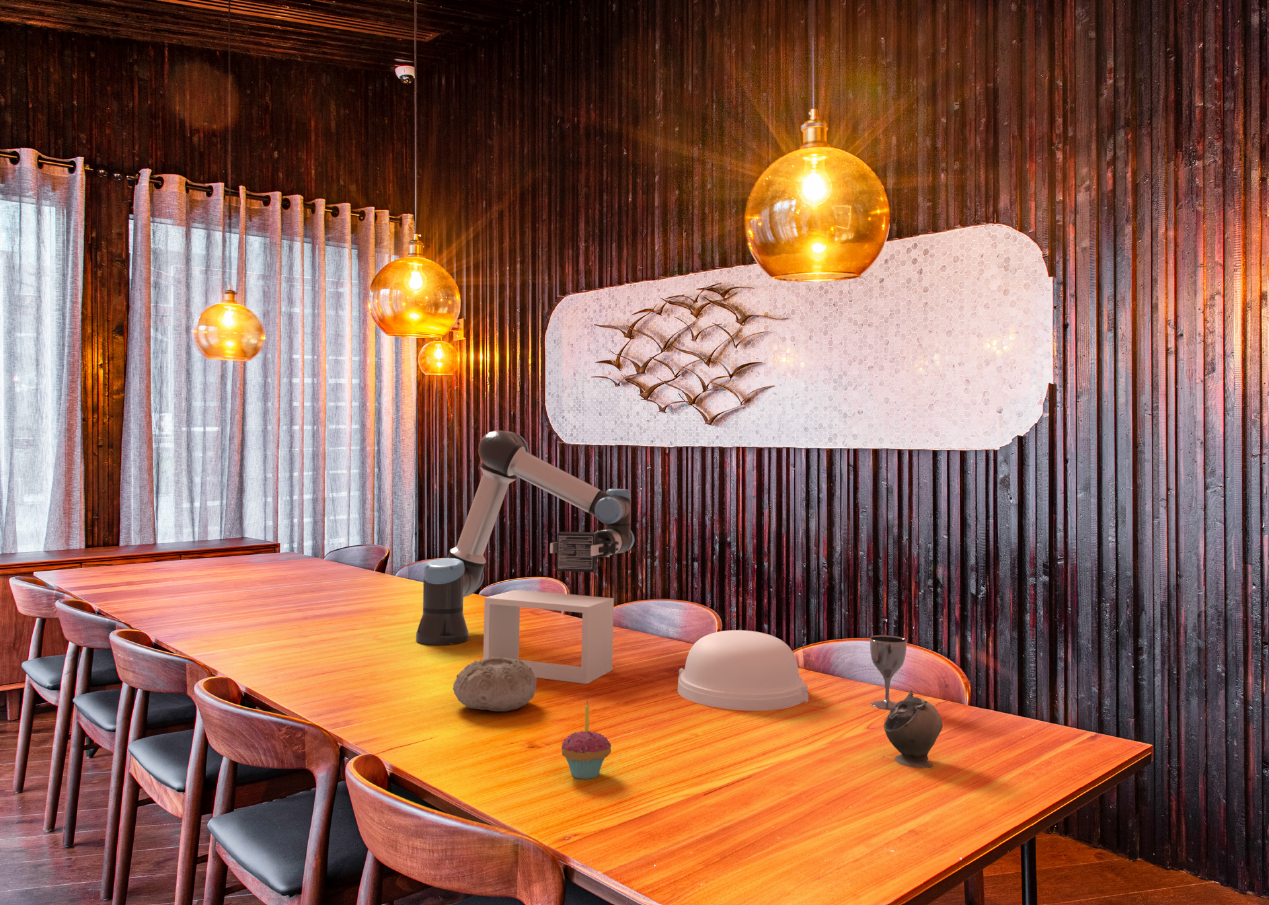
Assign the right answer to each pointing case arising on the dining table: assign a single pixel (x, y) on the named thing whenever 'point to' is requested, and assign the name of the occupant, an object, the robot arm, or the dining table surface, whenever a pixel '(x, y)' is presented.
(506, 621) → the cubby
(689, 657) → the dome cover
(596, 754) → the cupcake
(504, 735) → the dining table surface
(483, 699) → the decorative shell
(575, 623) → the dining table surface
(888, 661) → the wine glass
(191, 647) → the dining table surface
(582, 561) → the small box
